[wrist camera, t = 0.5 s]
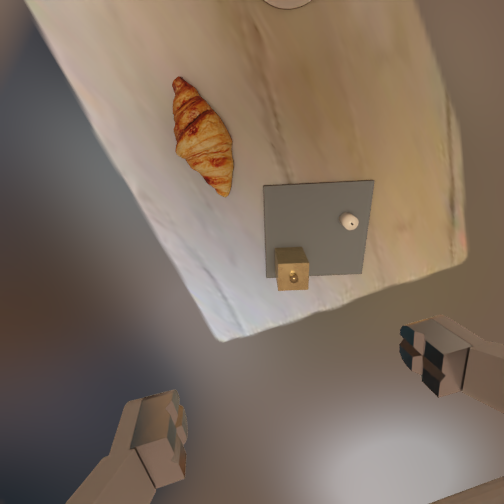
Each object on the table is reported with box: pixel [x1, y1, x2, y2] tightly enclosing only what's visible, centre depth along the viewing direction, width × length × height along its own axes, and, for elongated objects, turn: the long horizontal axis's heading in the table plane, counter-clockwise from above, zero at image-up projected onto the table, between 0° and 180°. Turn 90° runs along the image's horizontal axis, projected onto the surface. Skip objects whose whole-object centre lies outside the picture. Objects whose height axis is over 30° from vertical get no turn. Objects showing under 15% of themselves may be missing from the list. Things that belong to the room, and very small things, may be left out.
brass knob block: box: [275, 247, 309, 291], centre depth 54 cm, size 6×6×9 cm
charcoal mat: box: [264, 180, 374, 278], centre depth 56 cm, size 21×22×1 cm
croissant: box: [172, 77, 234, 197], centre depth 46 cm, size 21×10×8 cm, turn 22°
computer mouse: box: [339, 212, 359, 230], centre depth 52 cm, size 3×3×4 cm
